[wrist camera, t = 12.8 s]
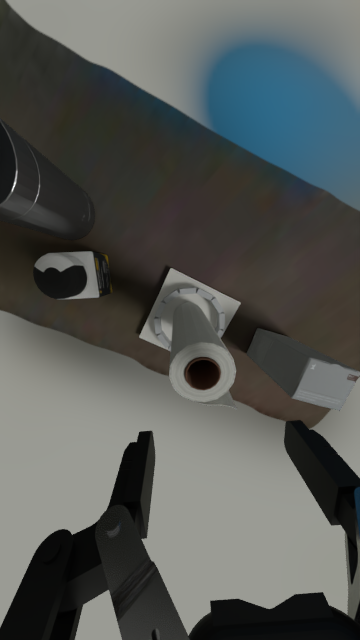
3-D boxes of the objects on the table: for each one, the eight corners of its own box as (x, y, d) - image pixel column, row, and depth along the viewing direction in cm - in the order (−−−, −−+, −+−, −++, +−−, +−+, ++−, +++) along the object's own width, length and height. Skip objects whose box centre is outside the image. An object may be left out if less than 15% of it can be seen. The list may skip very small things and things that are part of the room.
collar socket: (140, 334, 40) (136, 341, 36) (171, 267, 37) (170, 267, 33) (203, 362, 42) (206, 372, 38) (238, 301, 38) (245, 305, 35)
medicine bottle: (113, 292, 38) (84, 302, 26) (76, 294, 38) (32, 305, 26) (108, 254, 36) (75, 247, 24) (69, 256, 36) (18, 249, 24)
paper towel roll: (171, 303, 37) (165, 346, 16) (202, 300, 37) (236, 339, 16) (175, 338, 39) (173, 417, 18) (205, 335, 39) (238, 411, 18)
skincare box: (245, 353, 41) (285, 402, 26) (258, 323, 40) (309, 356, 24) (280, 363, 42) (339, 417, 27) (294, 334, 40) (366, 373, 25)
